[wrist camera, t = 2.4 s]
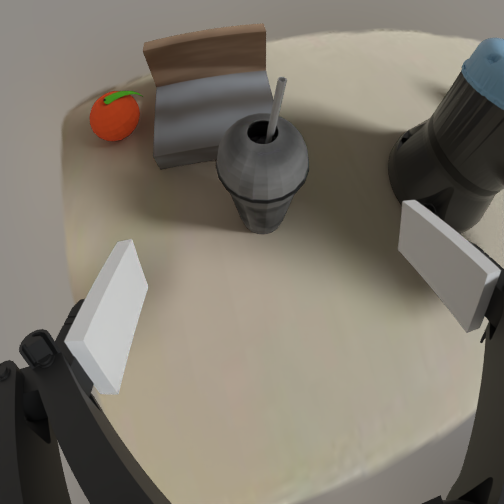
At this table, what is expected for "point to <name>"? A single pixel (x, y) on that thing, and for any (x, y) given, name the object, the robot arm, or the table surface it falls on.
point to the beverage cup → (263, 165)
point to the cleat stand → (205, 89)
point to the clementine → (115, 115)
